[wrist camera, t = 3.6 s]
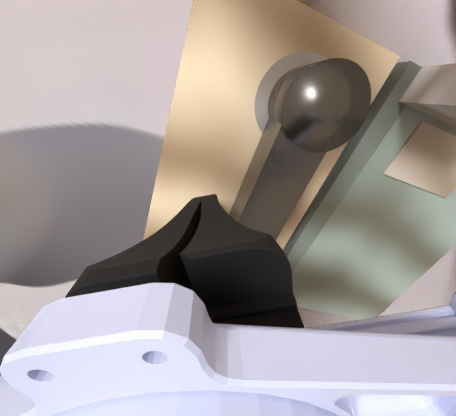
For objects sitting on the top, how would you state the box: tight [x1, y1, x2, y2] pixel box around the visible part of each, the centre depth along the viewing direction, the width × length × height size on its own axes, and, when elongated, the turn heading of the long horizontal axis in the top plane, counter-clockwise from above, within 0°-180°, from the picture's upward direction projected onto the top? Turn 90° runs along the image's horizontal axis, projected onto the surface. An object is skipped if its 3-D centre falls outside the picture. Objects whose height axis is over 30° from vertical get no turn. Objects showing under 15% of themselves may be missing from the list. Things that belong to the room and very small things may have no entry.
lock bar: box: [229, 58, 371, 240], centre depth 11 cm, size 12×3×3 cm, turn 160°
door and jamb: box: [143, 0, 456, 320], centre depth 14 cm, size 18×22×4 cm
